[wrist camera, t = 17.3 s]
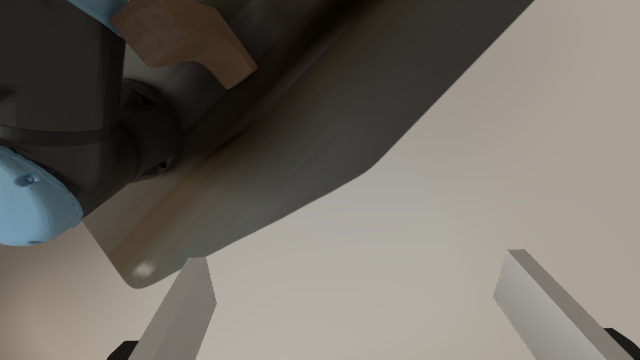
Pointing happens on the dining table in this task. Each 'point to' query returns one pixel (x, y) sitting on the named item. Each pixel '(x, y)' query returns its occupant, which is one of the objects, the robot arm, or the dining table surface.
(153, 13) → the wooden block
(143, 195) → the dining table surface
